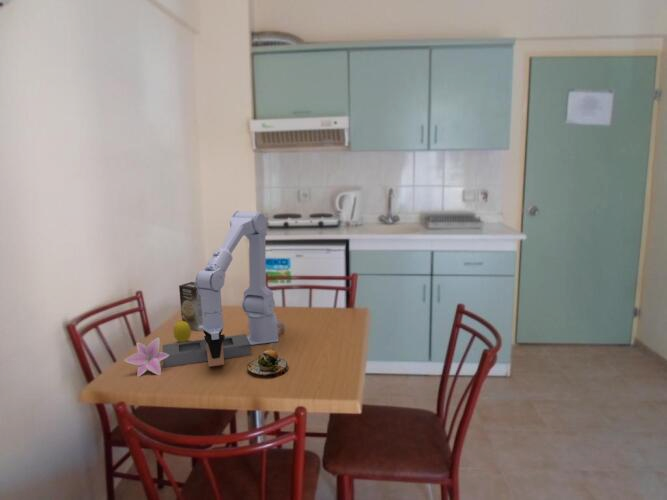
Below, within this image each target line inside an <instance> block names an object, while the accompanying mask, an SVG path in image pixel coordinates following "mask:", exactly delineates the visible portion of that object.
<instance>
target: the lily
mask: <svg viewBox="0 0 667 500" xmlns="http://www.w3.org/2000/svg"><path fill="white" fill-rule="evenodd" d="M160 343H161V340H160V337H156V338H155V339H153V340H152V341H150V342H149V344H148V345H145V344H143V343H141V342H139V341H137V342H136V349H137V352H135V353H132V354H131V355H129V356H127V357H126V358H124V360H123V361H124V362H125V363H128V364H130V365H135V366H137V377H140V376H142V375H143V374H145V372H147V371H149V372H152V373H153V374H154V375H155V374H156V375H157V376H160V375H162V369H161V364H160V362H161V361H163V359H165V358H166V357H168V356H169V354H167V353H163V352H162V351H160V345H161V344H160Z"/></svg>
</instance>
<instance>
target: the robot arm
mask: <svg viewBox="0 0 667 500" xmlns="http://www.w3.org/2000/svg"><path fill="white" fill-rule="evenodd" d="M267 221H268V218H267V217H266V215H265V214H264V212H262V211H239V210H235V211H234V212H233V213H232V215H231V217H230V219H229V226H230V228H229V230H228V232H227V234H226V237H225V238H224V241H223V242H222V245H221V246H220V248H216V249H215V250H214V251H213V252H212V255H211V257H210V259H209V261H208V262H207V263H206V265H205V267H204V268H203V269H202V270H200V271H199V272H198V273H197V274H196V276H195V280H194V282H195V286H196V287H197V289H198V293H199V295H200V296H201V308H202V320H203V325H201V326H199V330H200V331H202V332H203V333H204V339H205V341H206V342H207V344H208V346H209V348H210V352H211V356H212V359H216V358H220V354H221V346H222V342H223V340H224V337H226V336H225V334H222V332H223V329H224V327H225V326H224V325H225V324H224V317H223V307H222V306H223V305H222V291H221V290H222V289H223V287H224V285H225V279H226V272H227V271H228V268H229V266H230V265H231V264H232V261H233V255H232V253H233V252H234V250H235V249H236V247H237V246H238V244H239V243H240V241H241V239H242V238H243V237H244V236H245V237H246V238H247V239H248V241H249V242H248V243H249V246H248V247H249V248H248V250H249V254H248V256H249V259H248V261H249V263H248V264H249V286H248V288H247V289H246V290H244V291H243V297H242V301H241V308H242V311H243V312H245V314H246V316H247V318H248V331H249V332H248V336H247V335H246V336H247V338H248V340H249V343H250V346H253V345H262V344H267V343H268V344H269V343H270V344H271V343H275V342H276V343H277V342H279V334H278V333H279V330H278V319H277V313H275V312H274V310H275V307H276V304H275V299H274V292H273V291H272V290H271V289H270V288H269V287H267V285H266V284H267V283H266V282H267V281H266V279H267V277H266V275H267V272H266V271H267V270H266V269H267V268H266V265H267V263H266V261H267V260H266V258H267V257H266V252H267V251H266V236H268V235H267V233H268V229H267V228H268V227H267V225H268V222H267Z"/></svg>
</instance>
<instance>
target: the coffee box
mask: <svg viewBox="0 0 667 500" xmlns="http://www.w3.org/2000/svg"><path fill="white" fill-rule="evenodd" d="M178 288H179V289H178V290H179V299H180V300H179V301H180V314H181V320H182V321H185V322H187V323H188V324H189V326H190V329H191V330H193V331H197V332H199V331H201V330H199V326H201V325H203V320H202V308H201V296H200V295H199V293H198V289H197V287H196V286H195V281H190V282H187V283H183V284H180V285H178Z"/></svg>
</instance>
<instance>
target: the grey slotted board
mask: <svg viewBox="0 0 667 500" xmlns="http://www.w3.org/2000/svg"><path fill="white" fill-rule="evenodd" d="M161 352H163V353H167V354H169V356H168V357H166V358H165V359H163V360H162V367H163V368H168V367H169V368H170V367H176V366H182V365H183V366H185V365H191V364H198V363H205V362H208V356H207V344H206V341H205V338H204V339H198V340H197V339H196V340H190V341H185V342H175V343H167V344H162V351H161ZM223 354H224V360H226V359H232V358H233V359H234V358H239V357H240V358H241V357H246V356H247V357H248V356H251V355H252V353H251V345H250V343H249V340H248V338H247V334H246V333H244V334H237V335H227V336H225V337H224V340H223Z"/></svg>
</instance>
